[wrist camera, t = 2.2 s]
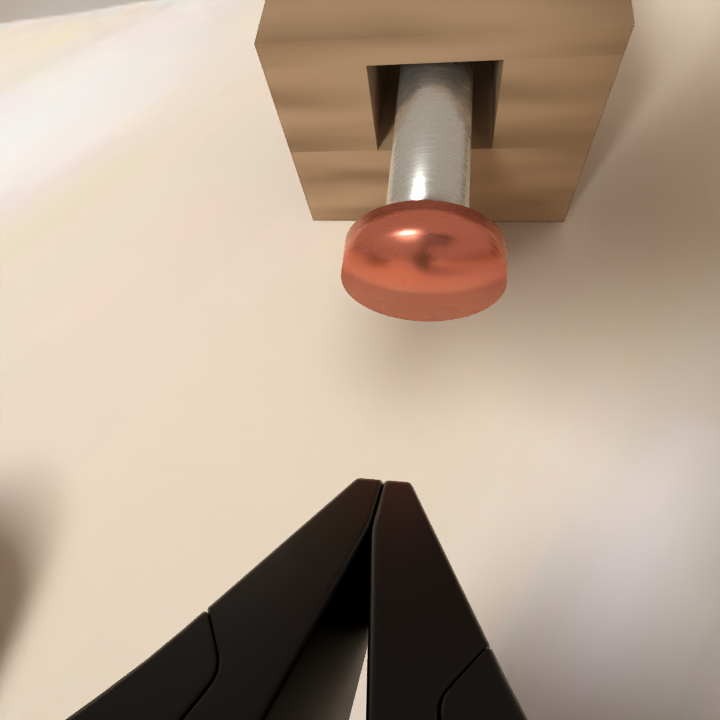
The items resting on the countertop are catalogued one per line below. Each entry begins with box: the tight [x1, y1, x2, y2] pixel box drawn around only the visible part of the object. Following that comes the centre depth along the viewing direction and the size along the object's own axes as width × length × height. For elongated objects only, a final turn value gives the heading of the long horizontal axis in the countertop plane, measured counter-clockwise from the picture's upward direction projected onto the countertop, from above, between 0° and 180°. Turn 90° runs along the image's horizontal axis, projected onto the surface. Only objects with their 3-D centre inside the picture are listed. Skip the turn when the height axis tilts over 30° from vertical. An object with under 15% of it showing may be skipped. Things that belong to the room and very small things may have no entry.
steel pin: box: [341, 61, 507, 321], centre depth 20 cm, size 16×5×5 cm, turn 174°
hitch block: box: [254, 0, 634, 221], centre depth 23 cm, size 8×12×10 cm, turn 84°
